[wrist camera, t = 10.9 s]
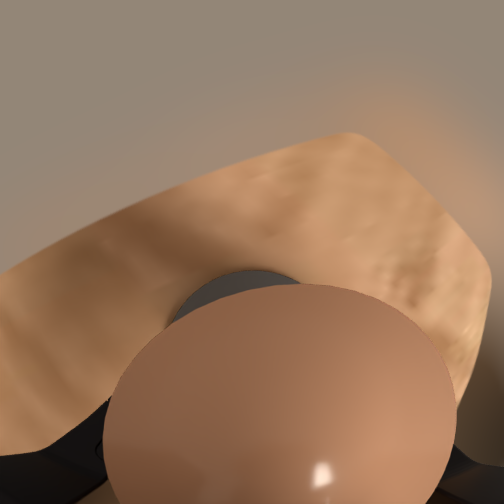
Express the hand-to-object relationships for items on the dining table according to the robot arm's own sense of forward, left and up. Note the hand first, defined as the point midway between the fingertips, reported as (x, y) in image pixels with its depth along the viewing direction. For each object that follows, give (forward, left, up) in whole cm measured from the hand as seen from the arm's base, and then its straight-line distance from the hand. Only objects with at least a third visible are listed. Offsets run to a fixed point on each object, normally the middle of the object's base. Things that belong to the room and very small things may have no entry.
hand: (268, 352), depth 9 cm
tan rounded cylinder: (-1, +1, -7) cm, 7 cm away
